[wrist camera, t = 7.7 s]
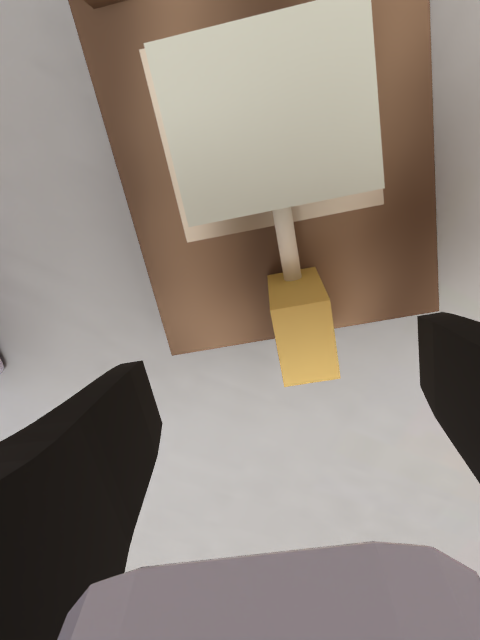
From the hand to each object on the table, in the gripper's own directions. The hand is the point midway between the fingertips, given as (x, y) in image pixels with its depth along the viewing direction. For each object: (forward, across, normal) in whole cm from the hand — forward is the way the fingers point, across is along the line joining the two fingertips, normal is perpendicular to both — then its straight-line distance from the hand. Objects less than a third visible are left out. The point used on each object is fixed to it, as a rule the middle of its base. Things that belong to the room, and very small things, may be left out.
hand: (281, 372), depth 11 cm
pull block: (+8, -1, -3) cm, 8 cm away
